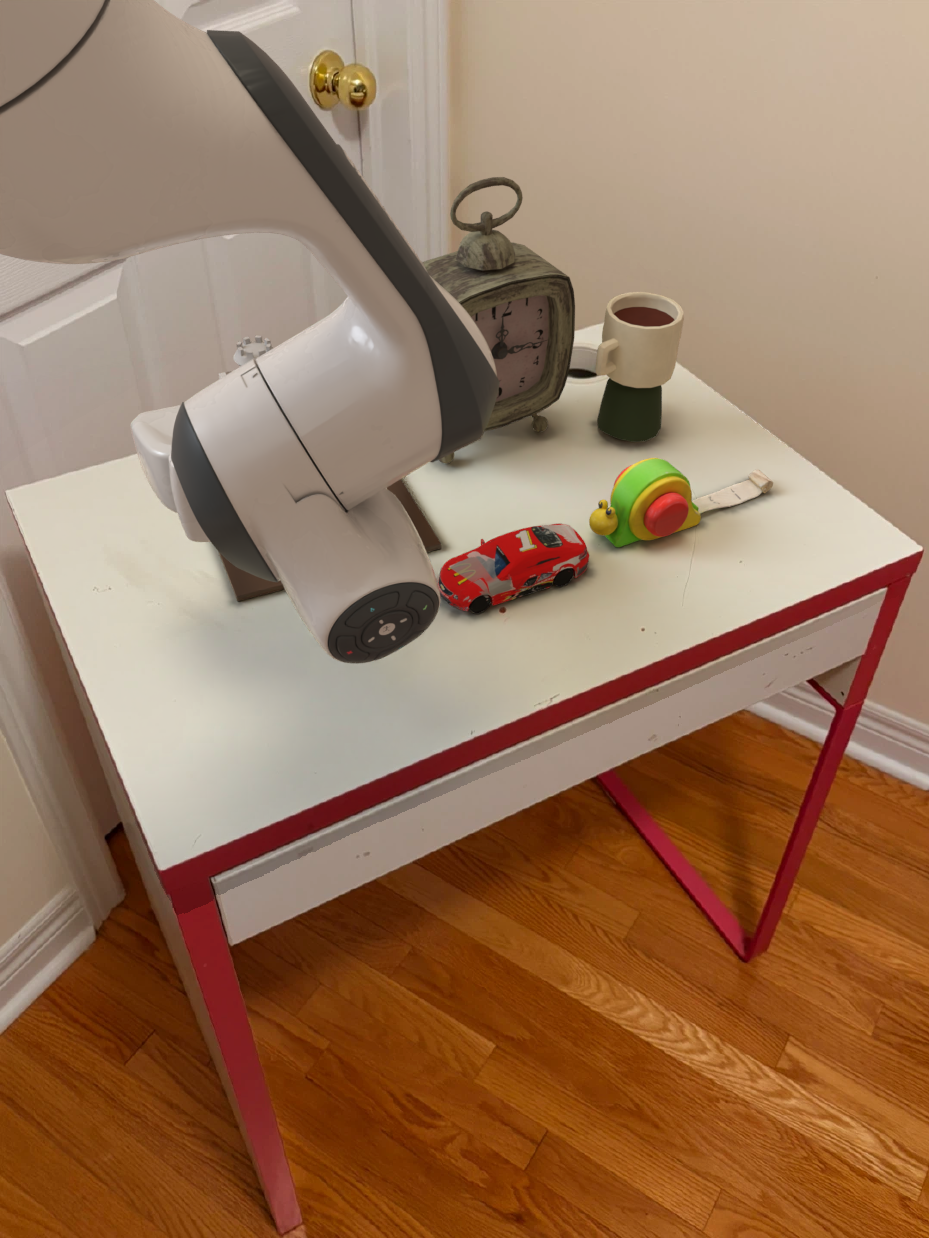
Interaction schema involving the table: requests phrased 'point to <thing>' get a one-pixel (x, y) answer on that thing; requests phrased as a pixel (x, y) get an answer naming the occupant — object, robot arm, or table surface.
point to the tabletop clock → (512, 311)
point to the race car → (513, 567)
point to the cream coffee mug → (637, 362)
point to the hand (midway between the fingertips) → (255, 374)
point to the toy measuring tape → (662, 502)
